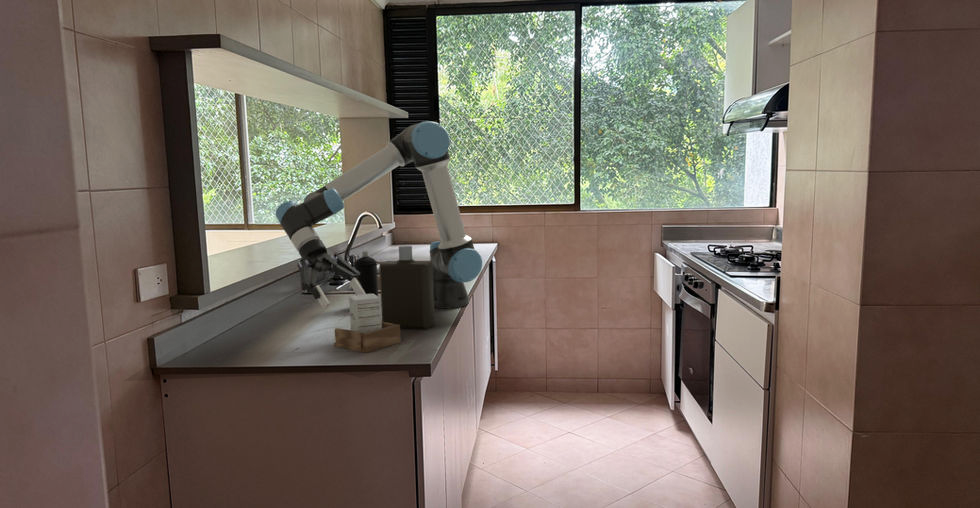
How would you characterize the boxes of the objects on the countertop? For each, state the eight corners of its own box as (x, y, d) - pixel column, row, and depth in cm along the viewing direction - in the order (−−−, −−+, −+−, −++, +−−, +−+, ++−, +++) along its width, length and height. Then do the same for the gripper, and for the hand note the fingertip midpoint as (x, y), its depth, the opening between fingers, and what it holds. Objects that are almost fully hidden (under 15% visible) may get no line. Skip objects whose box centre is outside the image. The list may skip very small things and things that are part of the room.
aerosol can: (377, 308, 230) (374, 252, 227) (353, 308, 230) (351, 252, 228) (381, 303, 238) (378, 249, 236) (358, 303, 238) (356, 249, 236)
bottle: (427, 330, 196) (424, 248, 193) (379, 327, 201) (375, 247, 197) (437, 324, 204) (434, 245, 201) (390, 321, 208) (386, 244, 205)
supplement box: (350, 339, 184) (348, 295, 182) (376, 336, 187) (374, 292, 185) (356, 345, 177) (354, 300, 175) (383, 342, 180) (381, 297, 178)
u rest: (334, 346, 181) (333, 328, 180) (369, 335, 191) (368, 319, 190) (366, 353, 173) (365, 334, 172) (400, 342, 183) (399, 324, 183)
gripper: (336, 248, 205) (371, 301, 199) (268, 259, 185) (304, 318, 179) (347, 233, 201) (383, 286, 195) (278, 242, 181) (316, 302, 175)
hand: (345, 301), depth 187 cm, fingers open, 13 cm apart
